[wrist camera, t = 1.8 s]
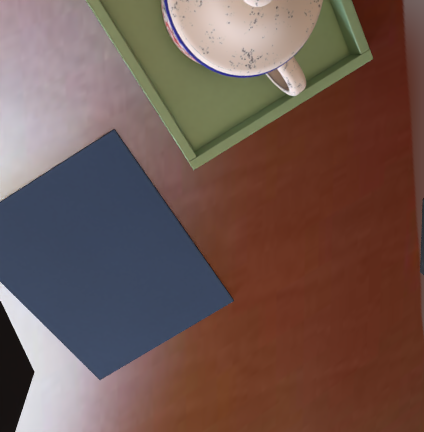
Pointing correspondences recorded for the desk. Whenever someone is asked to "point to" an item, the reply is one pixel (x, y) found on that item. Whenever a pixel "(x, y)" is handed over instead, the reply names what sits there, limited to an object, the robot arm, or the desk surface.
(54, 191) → the mat
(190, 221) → the desk surface
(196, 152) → the tray
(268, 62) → the teacup with lid
